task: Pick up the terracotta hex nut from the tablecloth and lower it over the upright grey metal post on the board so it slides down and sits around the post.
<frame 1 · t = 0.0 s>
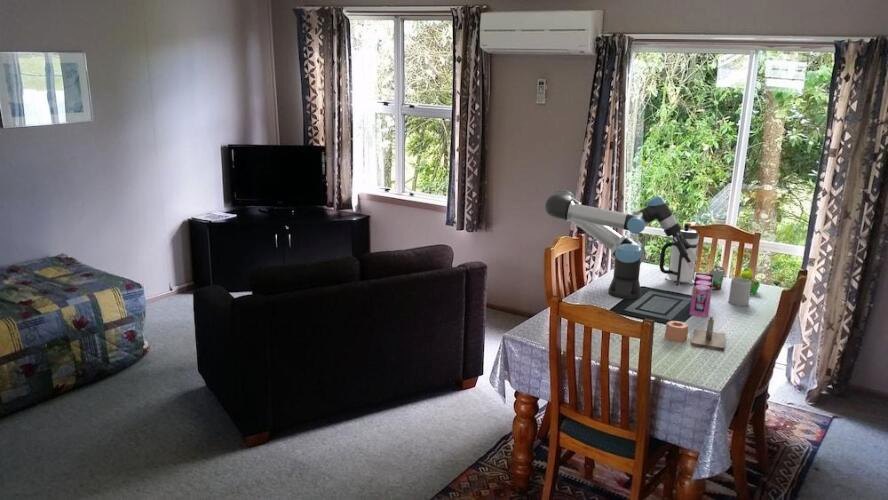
hand: (694, 264, 317), 15 cm above the table, tool tilted 35°, fingers open, 13 cm apart
hex nut: (675, 338, 268), on the table
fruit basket: (745, 291, 329), on the table
mug: (738, 302, 313), on the table
peg board: (708, 340, 266), on the table
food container: (716, 288, 332), on the table
gum box: (699, 309, 303), on the table
coffee press: (678, 282, 340), on the table
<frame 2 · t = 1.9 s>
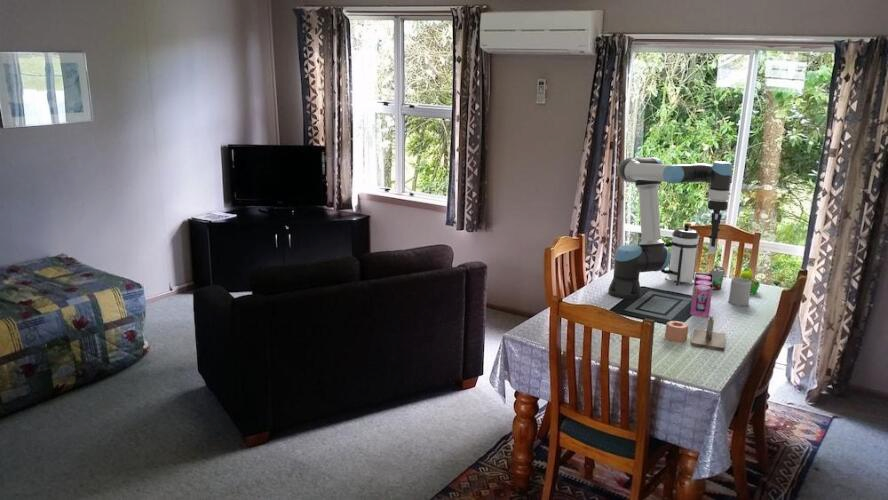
hand: (712, 250, 281), 31 cm above the table, tool pointing down, fingers open, 13 cm apart
nothing on the table moved.
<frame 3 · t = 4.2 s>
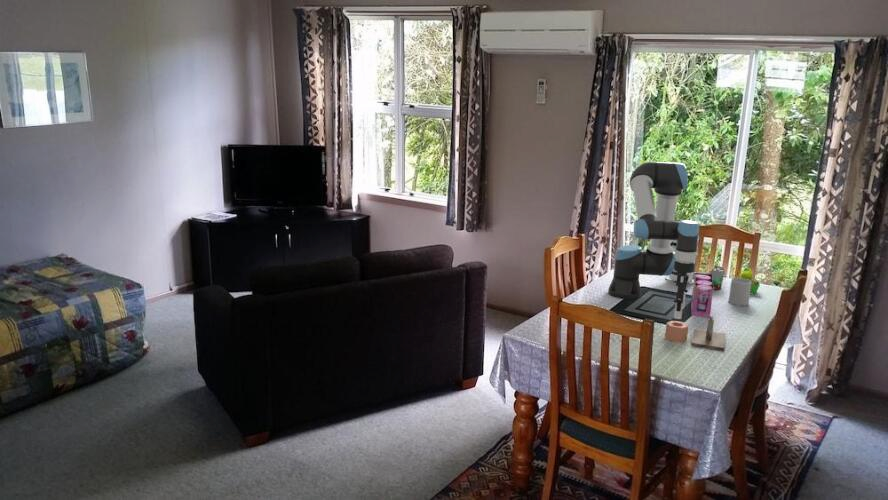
hand: (678, 313, 265), 11 cm above the table, tool pointing down, fingers open, 13 cm apart
nothing on the table moved.
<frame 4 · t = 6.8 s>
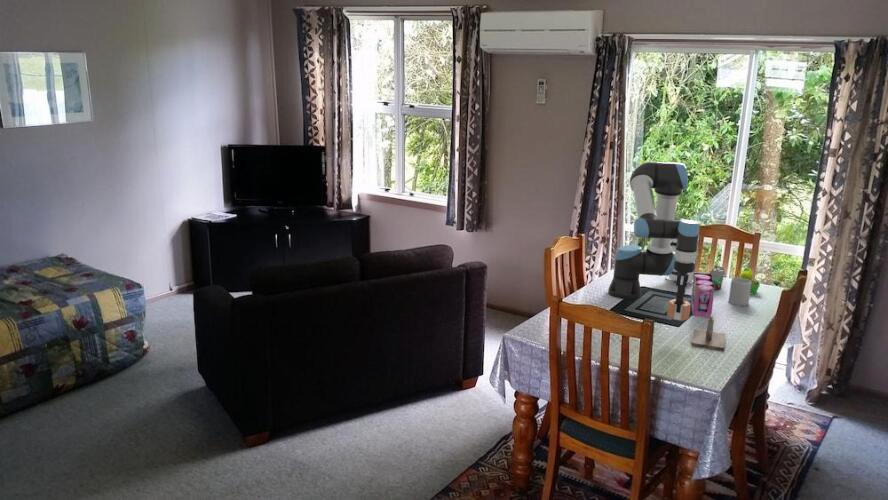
hand: (678, 316, 266), 9 cm above the table, tool pointing down, fingers closed on hex nut, 7 cm apart
hex nut: (678, 316, 266), point 9 cm above the table, touching gripper
everything else where it was.
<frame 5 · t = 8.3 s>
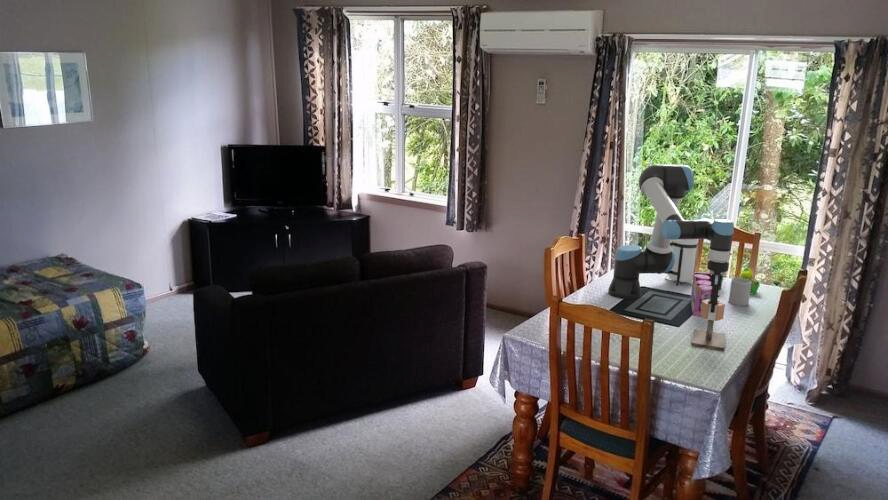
hand: (711, 316, 263), 10 cm above the table, tool pointing down, fingers closed on hex nut, 7 cm apart
hex nut: (711, 317, 263), point 10 cm above the table, touching gripper
everything else where it was.
when the fingers open (3 cm above the table, at t = 9.9 s): hex nut drops 1 cm, resting on peg board.
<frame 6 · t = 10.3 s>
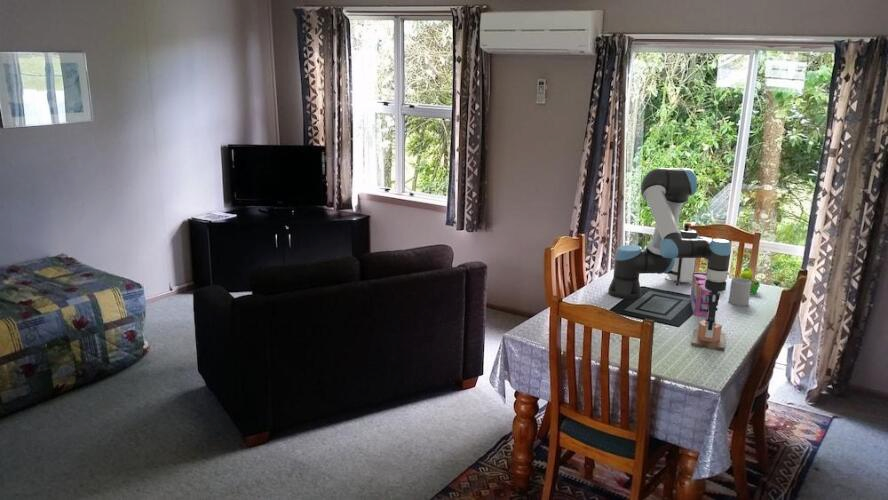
hand: (709, 331, 265), 4 cm above the table, tool pointing down, fingers open, 12 cm apart
hex nut: (708, 338, 266), point 1 cm above the table, touching peg board
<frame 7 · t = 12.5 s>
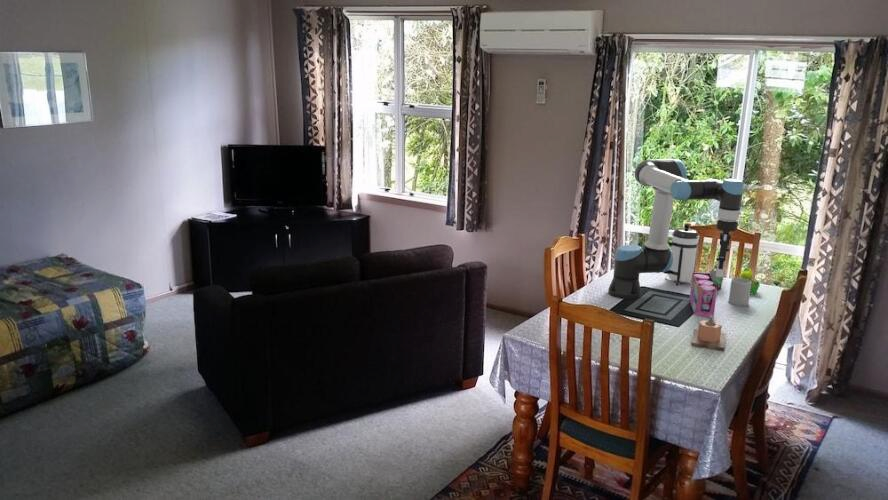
hand: (720, 271, 266), 26 cm above the table, tool pointing down, fingers open, 13 cm apart
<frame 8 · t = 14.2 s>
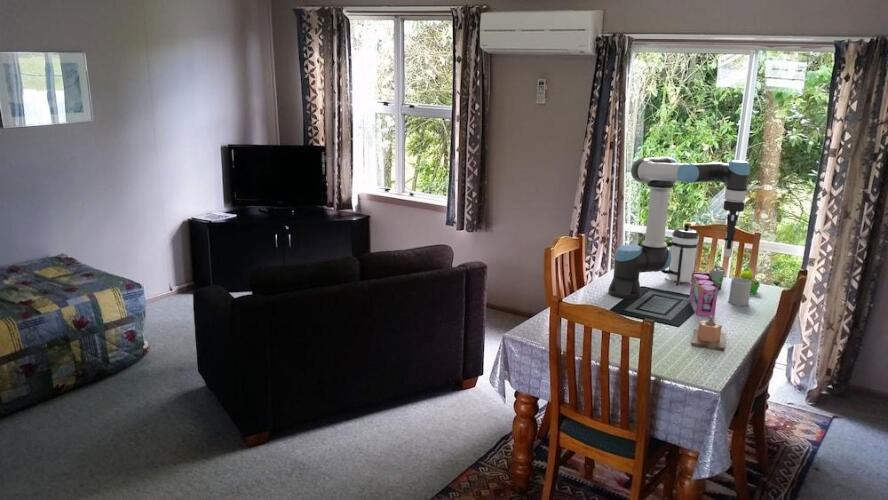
hand: (727, 252, 271), 33 cm above the table, tool pointing down, fingers open, 13 cm apart
at the end: hex nut 0.0 cm off-centre on the peg board, point 1.2 cm above the peg board's base; the gripper is holding nothing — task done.
